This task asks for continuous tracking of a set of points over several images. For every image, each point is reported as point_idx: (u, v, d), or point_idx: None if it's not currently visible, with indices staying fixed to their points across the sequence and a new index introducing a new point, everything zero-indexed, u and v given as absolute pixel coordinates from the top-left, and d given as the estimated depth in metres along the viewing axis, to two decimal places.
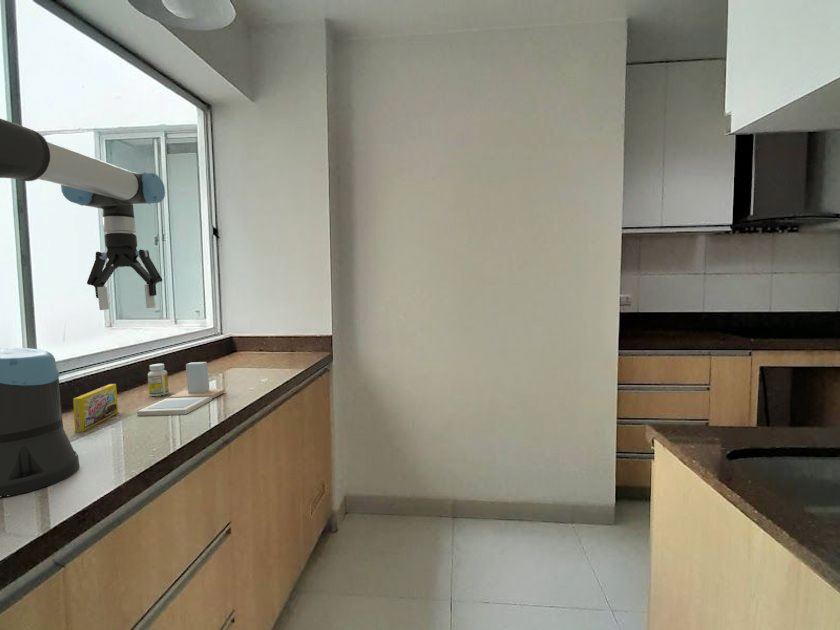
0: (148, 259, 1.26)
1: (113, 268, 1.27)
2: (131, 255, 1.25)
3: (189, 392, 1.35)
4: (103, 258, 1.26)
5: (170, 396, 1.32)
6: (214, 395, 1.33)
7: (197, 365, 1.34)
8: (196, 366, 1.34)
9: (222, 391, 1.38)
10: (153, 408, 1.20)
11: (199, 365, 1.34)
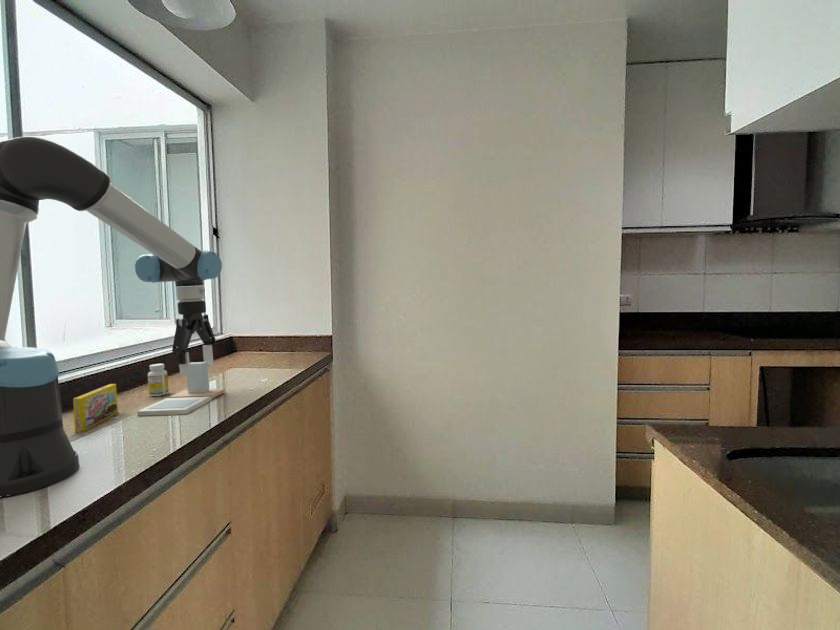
0: (180, 328, 1.28)
1: (200, 330, 1.38)
2: None
3: (189, 392, 1.35)
4: None
5: (170, 396, 1.32)
6: (214, 395, 1.33)
7: (197, 365, 1.34)
8: (196, 366, 1.34)
9: (222, 391, 1.38)
10: (153, 408, 1.20)
11: (199, 365, 1.34)
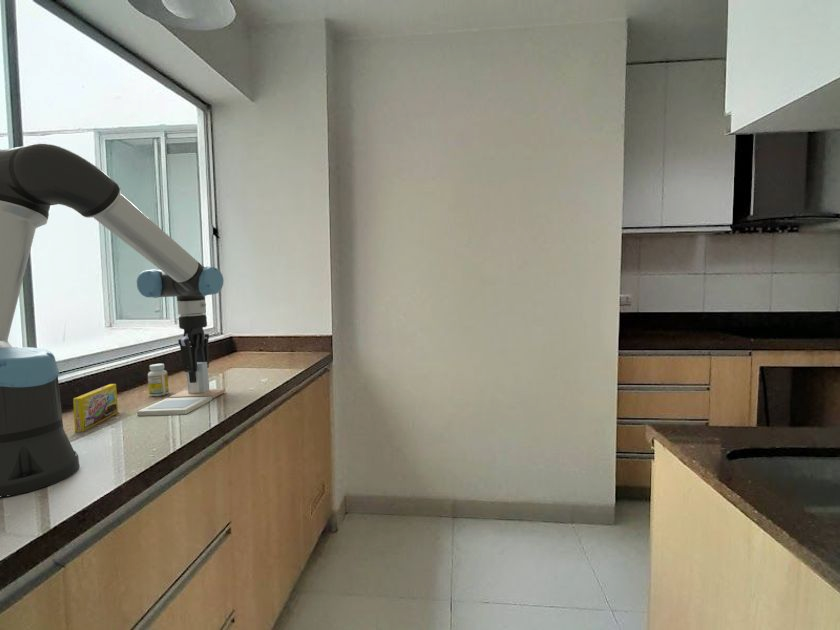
0: (185, 349, 1.30)
1: (198, 347, 1.37)
2: None
3: (189, 392, 1.35)
4: None
5: (170, 396, 1.32)
6: (214, 395, 1.33)
7: (197, 365, 1.34)
8: None
9: (222, 391, 1.38)
10: (153, 408, 1.20)
11: (199, 365, 1.34)
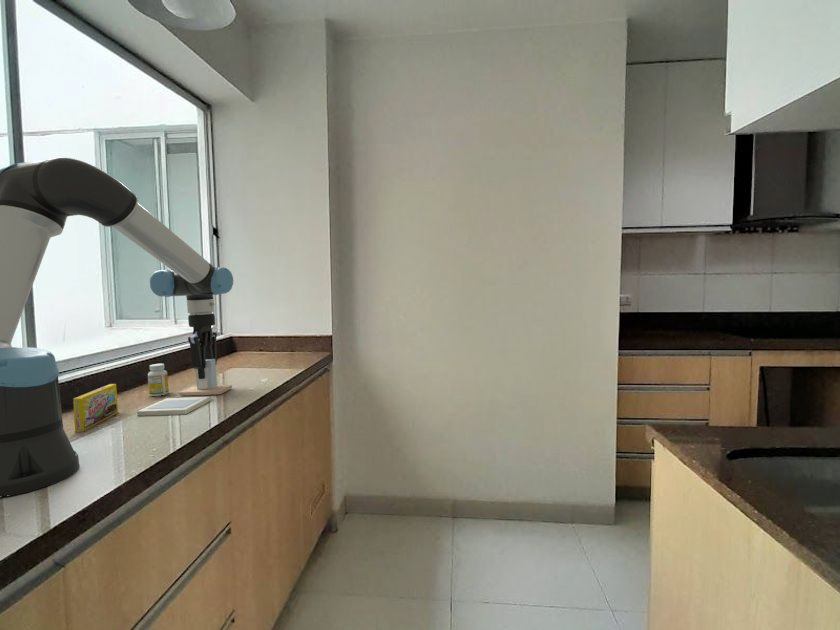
0: (194, 346, 1.35)
1: (207, 345, 1.42)
2: None
3: (198, 388, 1.40)
4: None
5: (180, 392, 1.37)
6: (222, 391, 1.38)
7: (206, 362, 1.39)
8: None
9: (229, 387, 1.43)
10: (153, 408, 1.20)
11: (208, 362, 1.39)
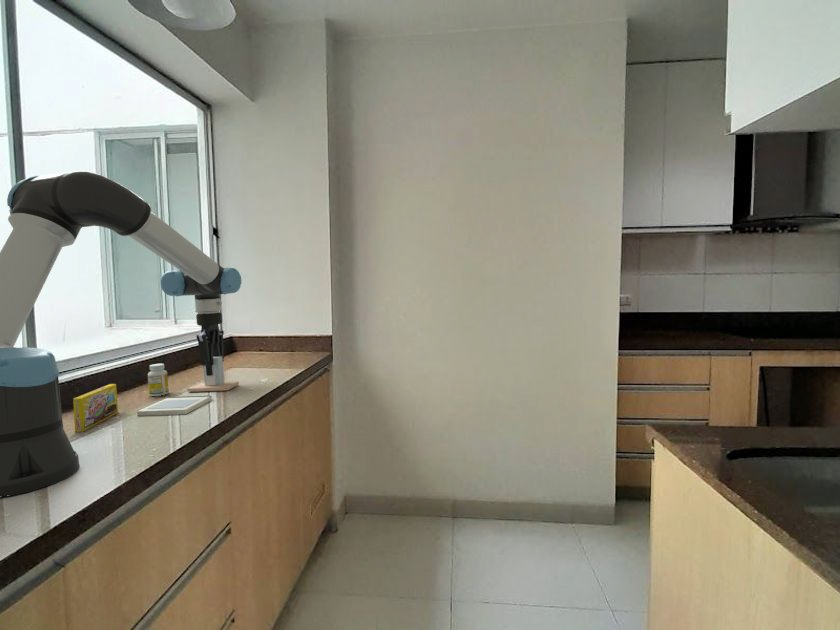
0: (202, 344, 1.40)
1: (214, 343, 1.47)
2: None
3: (206, 384, 1.45)
4: None
5: (188, 388, 1.42)
6: (229, 387, 1.43)
7: (213, 359, 1.44)
8: None
9: (236, 384, 1.48)
10: (153, 408, 1.20)
11: (215, 359, 1.44)
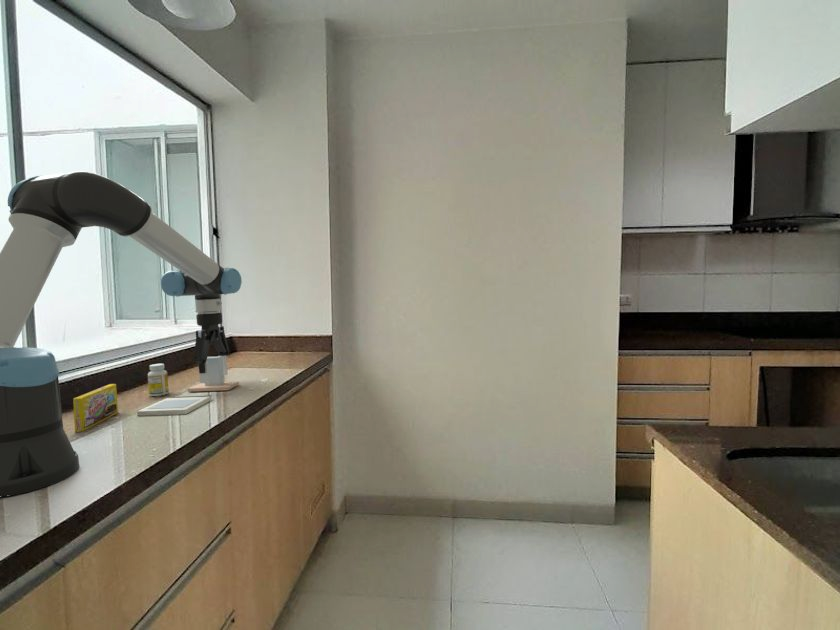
0: (200, 339, 1.38)
1: (216, 341, 1.48)
2: None
3: (206, 384, 1.45)
4: None
5: (188, 388, 1.42)
6: (229, 387, 1.43)
7: (213, 359, 1.44)
8: (212, 360, 1.44)
9: (236, 383, 1.48)
10: (153, 408, 1.20)
11: (215, 359, 1.44)
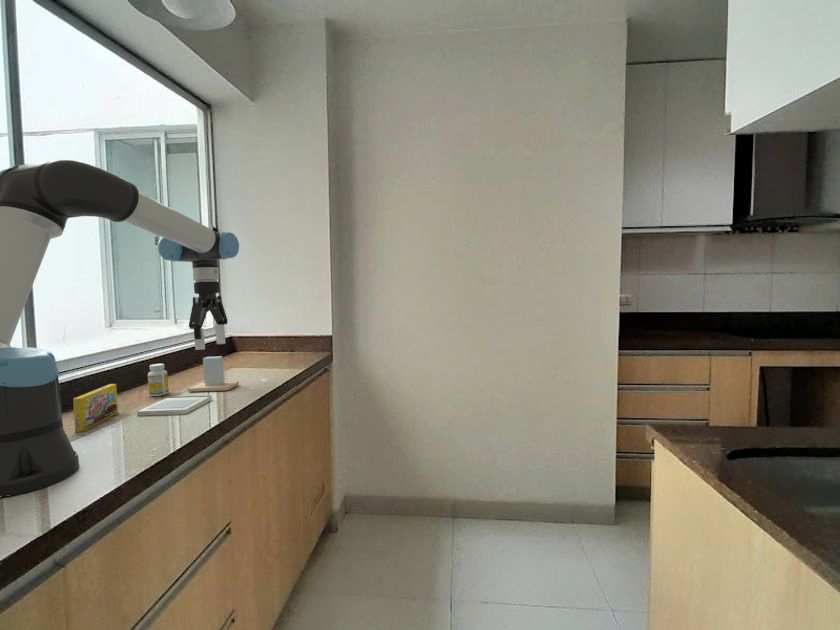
0: (196, 305, 1.37)
1: (214, 310, 1.48)
2: None
3: (206, 384, 1.45)
4: None
5: (188, 388, 1.42)
6: (229, 387, 1.43)
7: (213, 359, 1.44)
8: (212, 360, 1.44)
9: (236, 383, 1.48)
10: (153, 408, 1.20)
11: (215, 359, 1.44)
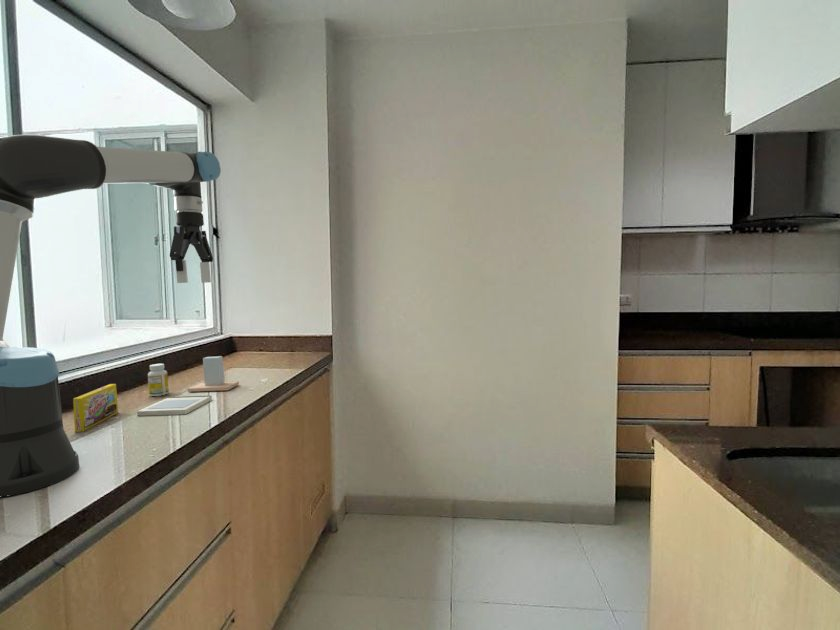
0: (178, 235, 1.29)
1: (198, 245, 1.39)
2: None
3: (206, 384, 1.45)
4: None
5: (188, 388, 1.42)
6: (229, 387, 1.43)
7: (213, 359, 1.44)
8: (212, 360, 1.44)
9: (236, 383, 1.48)
10: (153, 408, 1.20)
11: (215, 359, 1.44)
